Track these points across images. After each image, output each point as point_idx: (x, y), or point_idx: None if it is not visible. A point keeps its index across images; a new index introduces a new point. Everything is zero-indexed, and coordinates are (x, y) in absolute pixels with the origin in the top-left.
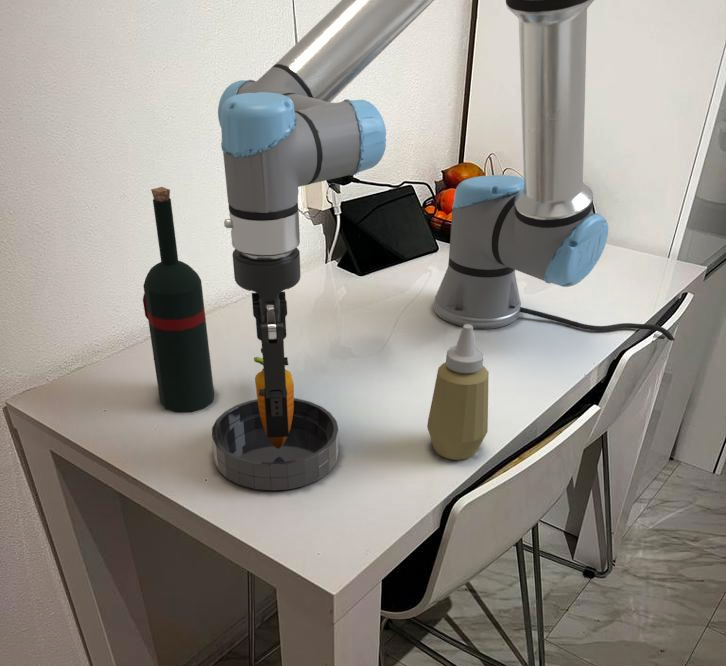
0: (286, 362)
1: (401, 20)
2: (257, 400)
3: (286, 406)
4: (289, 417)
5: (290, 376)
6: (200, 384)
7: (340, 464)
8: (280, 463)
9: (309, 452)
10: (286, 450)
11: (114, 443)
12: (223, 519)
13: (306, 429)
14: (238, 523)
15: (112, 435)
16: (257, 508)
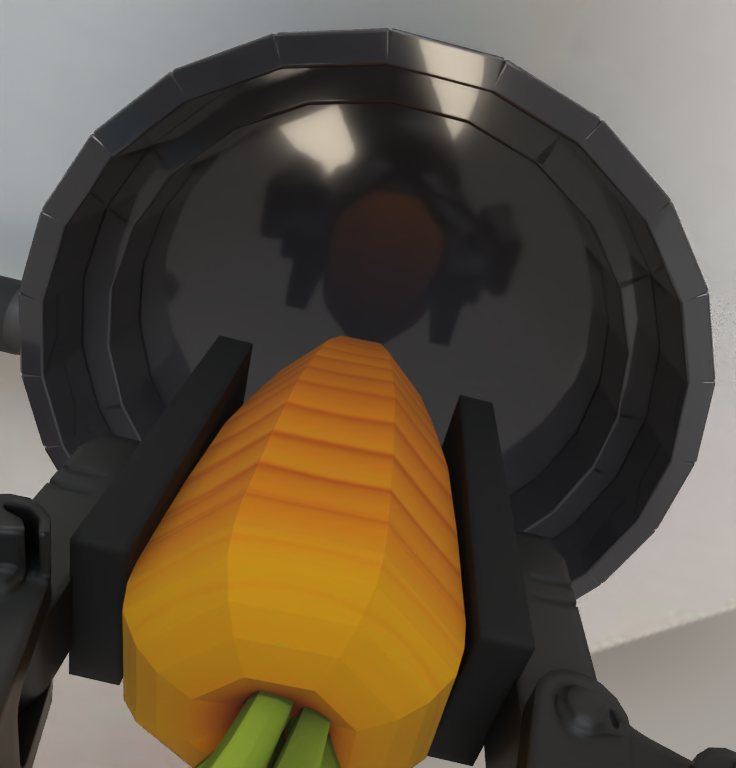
0: (24, 539)
1: None
2: (48, 415)
3: (517, 546)
4: (413, 410)
5: (337, 596)
6: None
7: (562, 73)
8: (671, 487)
9: (411, 206)
10: (356, 303)
11: (148, 737)
12: (670, 607)
13: (210, 155)
14: (720, 577)
15: (103, 734)
16: (677, 507)
